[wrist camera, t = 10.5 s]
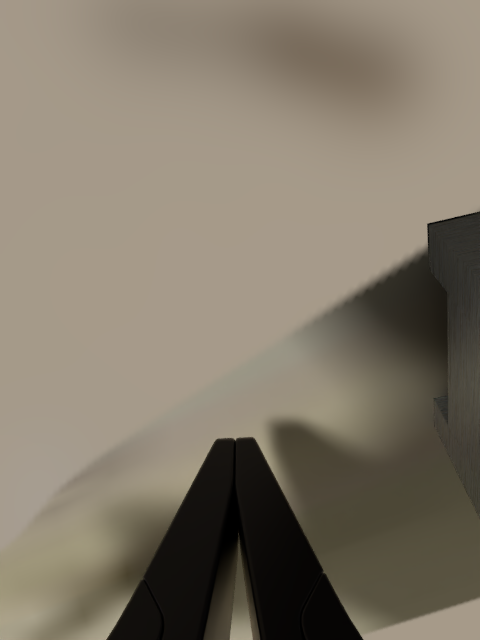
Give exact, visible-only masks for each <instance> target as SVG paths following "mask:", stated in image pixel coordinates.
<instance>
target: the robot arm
mask: <svg viewBox="0 0 480 640" xmlns="http://www.w3.org/2000/svg"><path fill="white" fill-rule="evenodd" d="M239 540H240V549H241V557H242V564H243V571H244V579H245V586H246V593H247V600H248V607H249V614H250V621H251V628H252V636H253V640H363V639H362V637H361V635H360V634H359V632H358V630H357V629H356V627H355V626H354V624H353V623H352V621H351V619H350V618H349V616H348V614H347V612H346V611H345V609H344V607H343V605H342V604H341V602H340V600H339V598H338V596H337V595H336V593H335V591H334V589H333V587H332V585H331V583H330V581H329V579H328V578H327V576H326V574H325V573H323V568H322V566H321V565H320V563H319V561H318V559H317V557H316V555H315V553H314V551H313V549H312V547H311V545H310V543H309V541H308V540H307V538H306V536H305V534H304V532H303V530H302V528H301V526H300V524H299V522H298V520H297V518H296V517H295V515H294V513H293V511H292V509H291V507H290V505H289V503H288V501H287V499H286V497H285V495H284V493H283V492H282V490H281V488H280V486H279V484H278V482H277V480H276V478H275V476H274V474H273V472H272V470H271V469H270V467H269V465H268V463H267V461H266V459H265V457H264V455H263V453H262V451H261V449H260V447H259V445H258V444H257V442H256V440H255V439H254V438H253V437H245V438H237V439H236V441H235V440H234V439H233V438H221V439H217V440H216V441H215V442H214V444H213V446H212V447H211V449H210V451H209V453H208V455H207V457H206V459H205V461H204V462H203V464H202V466H201V468H200V470H199V472H198V474H197V476H196V477H195V479H194V481H193V483H192V485H191V487H190V489H189V491H188V492H187V494H186V496H185V498H184V500H183V502H182V504H181V506H180V507H179V509H178V511H177V513H176V515H175V517H174V519H173V521H172V522H171V524H170V526H169V528H168V530H167V532H166V534H165V536H164V537H163V539H162V541H161V543H160V545H159V547H158V549H157V551H156V552H155V554H154V556H153V558H152V560H151V562H150V564H149V566H148V567H147V569H146V571H145V573H144V575H143V579H144V580H140V582H139V584H138V586H137V588H136V590H135V592H134V593H133V595H132V597H131V599H130V601H129V603H128V604H127V606H126V608H125V610H124V611H123V613H122V615H121V617H120V618H119V620H118V622H117V624H116V625H115V627H114V628H113V630H112V632H111V633H110V635H109V636H108V638H107V639H106V640H230V630H231V620H232V609H233V599H234V588H235V578H236V568H237V557H238V544H239Z"/></svg>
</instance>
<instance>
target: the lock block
mask: <svg viewBox="0 0 480 640" xmlns="http://www.w3.org/2000/svg"><path fill="white" fill-rule="evenodd" d="M478 213H479V214H478ZM427 235H428V245H429V254H430V271H431V272H432V274H433V275H434V276H435V277H436V279H437V280H438V281H439V283H440V284H441V285H442V286H443V288H444V289H445V290H446V292H447V321H448V396H444V397H439V398H434V425H435V428H436V430H437V432H438V434H439V436H440V438H441V440H442V443H443V445H444V447H445V449H446V451H447V453H448V455H449V457H450V459H451V461H452V463H453V465H454V467H455V469H456V471H457V473H458V475H459V477H460V479H461V481H462V483H463V485H464V487H465V490H466V492H467V494H468V496H469V498H470V500H471V502H472V504H473V506H474V508H475V510H476V512H477V514H478V516H479V518H480V211H479V212H475V213H471V214H466V215H462V216H458V217H454V218H449V219H445V220H440V221H436V222H432V223H428V224H427Z"/></svg>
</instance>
